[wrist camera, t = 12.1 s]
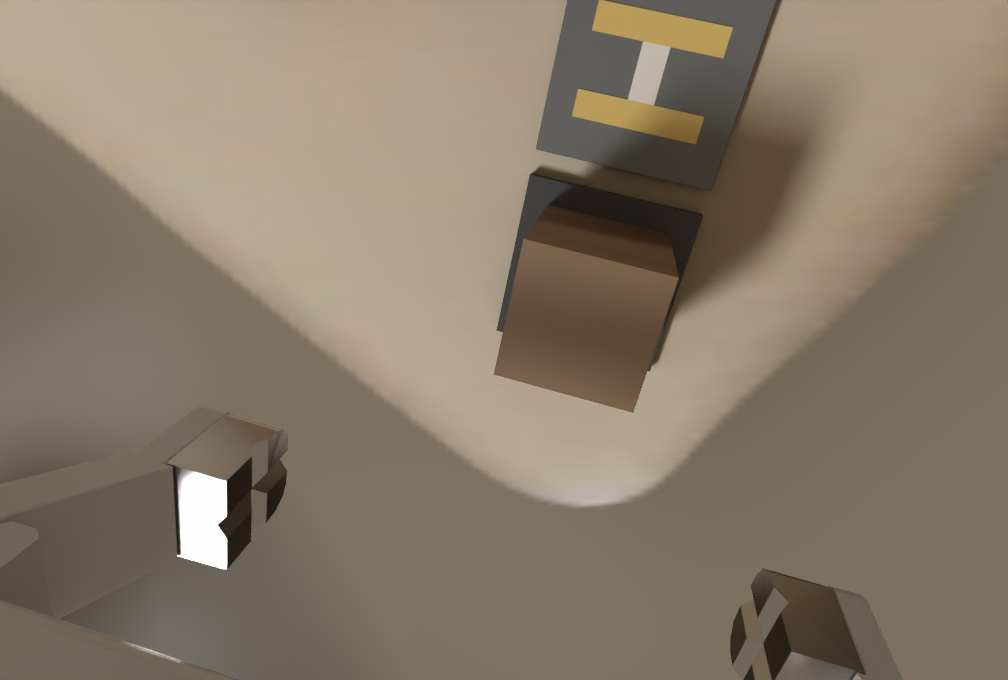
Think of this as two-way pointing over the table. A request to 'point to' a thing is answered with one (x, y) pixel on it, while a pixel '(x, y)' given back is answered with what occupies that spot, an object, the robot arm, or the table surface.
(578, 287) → the walnut block
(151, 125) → the table surface
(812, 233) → the table surface
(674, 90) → the code tile
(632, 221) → the rubber mat
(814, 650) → the robot arm
